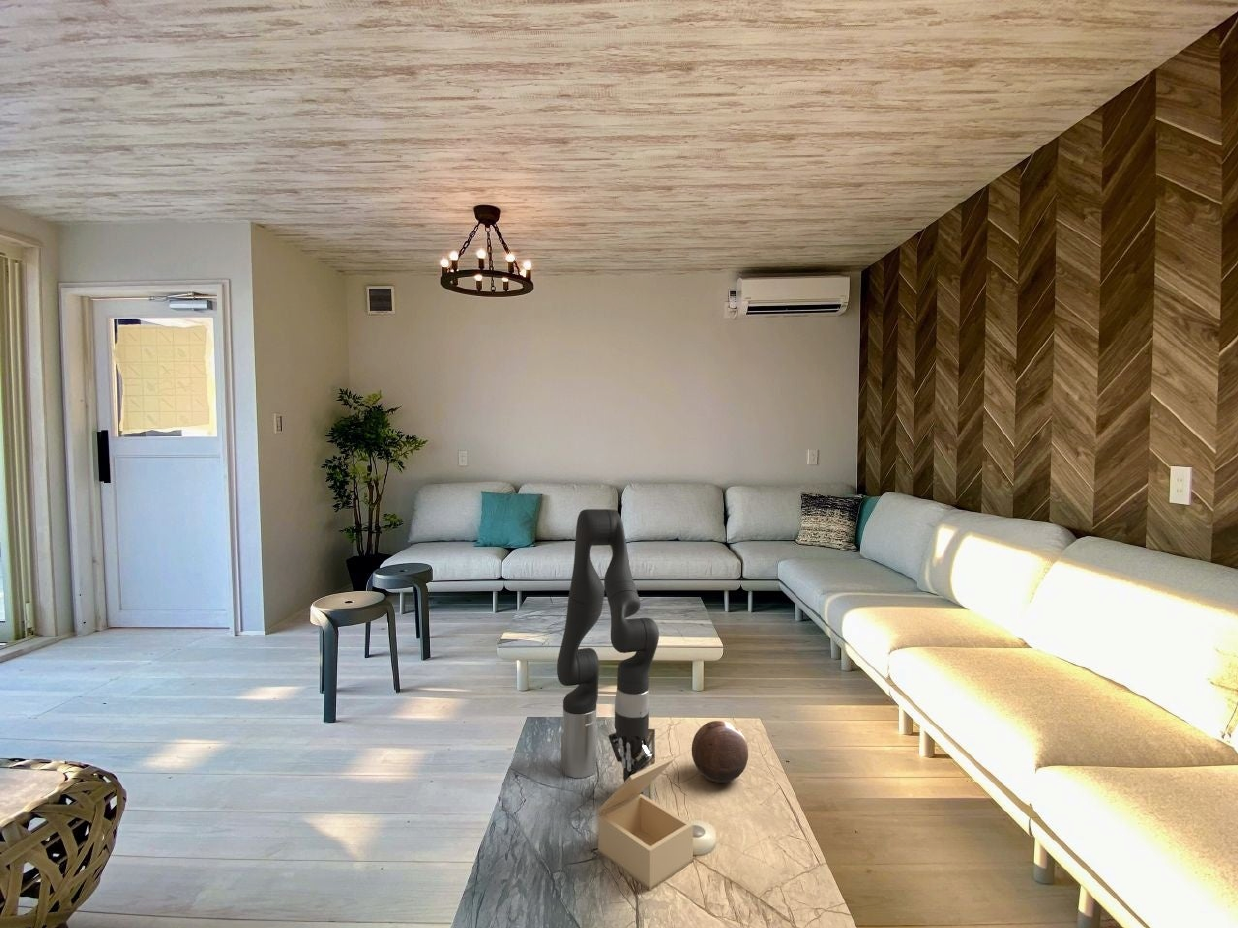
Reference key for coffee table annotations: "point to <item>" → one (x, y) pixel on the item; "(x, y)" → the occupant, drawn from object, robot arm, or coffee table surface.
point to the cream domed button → (703, 837)
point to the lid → (635, 784)
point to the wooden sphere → (719, 751)
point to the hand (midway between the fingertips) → (629, 784)
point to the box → (645, 840)
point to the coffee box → (651, 747)
